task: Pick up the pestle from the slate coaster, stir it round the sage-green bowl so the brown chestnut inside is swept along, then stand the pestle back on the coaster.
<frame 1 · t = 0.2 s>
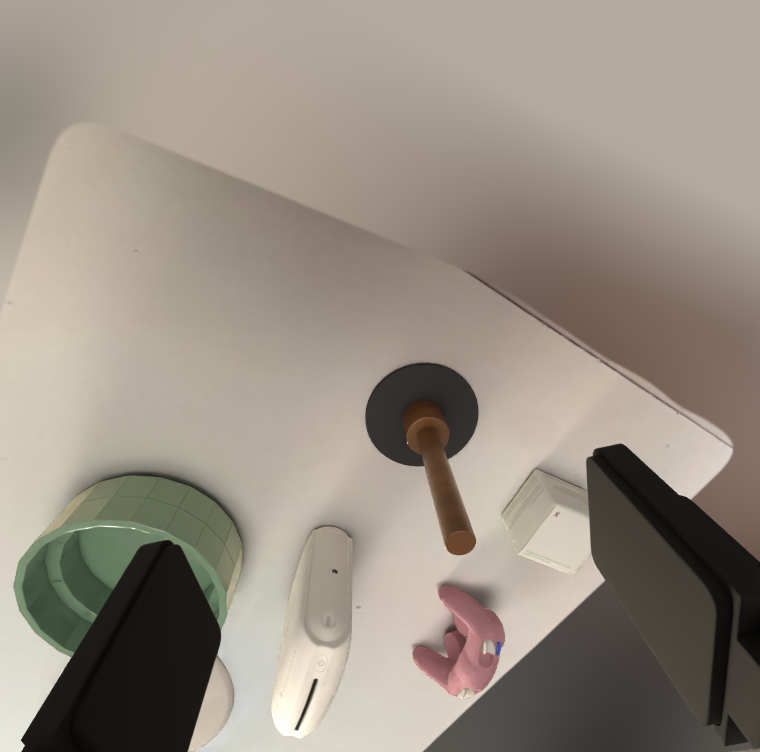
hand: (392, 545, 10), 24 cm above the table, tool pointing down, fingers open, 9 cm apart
photo printer: (319, 566, 42), on the table
ornament: (159, 709, 48), on the table
pestle: (422, 418, 36), resting on coaster
video game controller: (451, 618, 45), on the table
coaster: (421, 415, 37), on the table
bowl: (155, 545, 40), on the table
small box: (541, 501, 41), on the table
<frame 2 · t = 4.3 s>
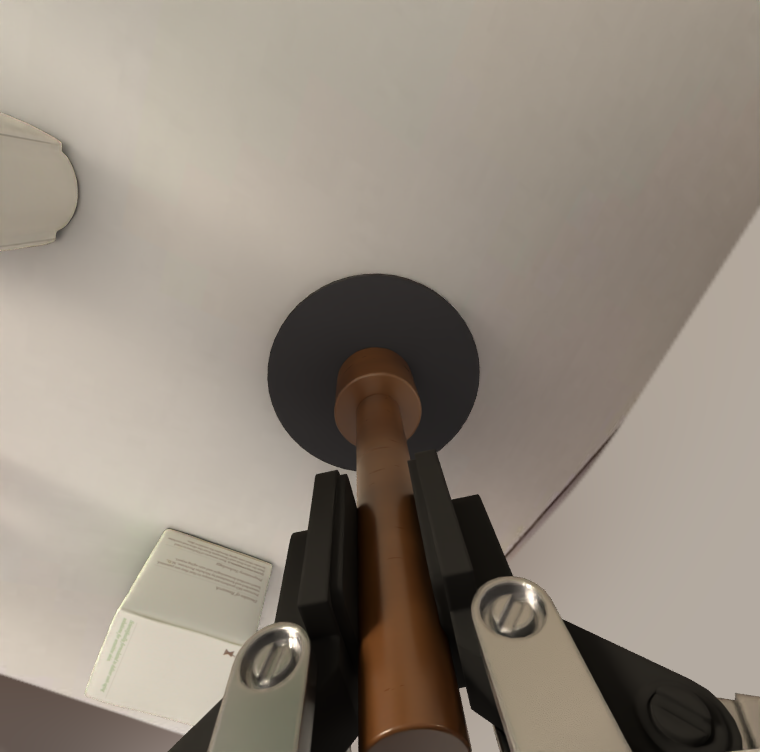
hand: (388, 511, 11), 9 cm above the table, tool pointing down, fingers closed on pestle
pestle: (374, 382, 19), resting on coaster, touching gripper
coaster: (374, 378, 20), on the table
small box: (204, 580, 24), on the table
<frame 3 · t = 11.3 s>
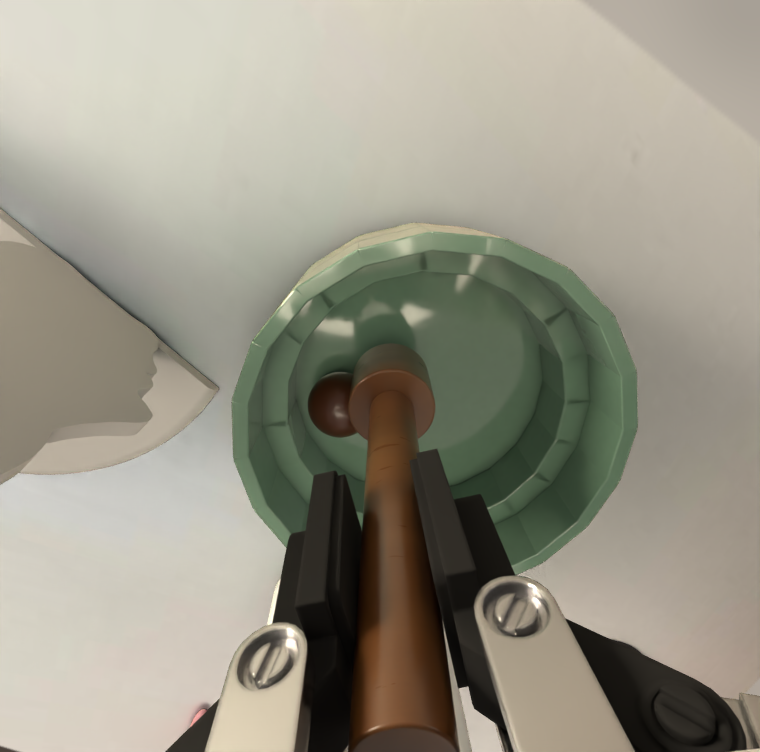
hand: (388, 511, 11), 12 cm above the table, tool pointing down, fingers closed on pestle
photo printer: (359, 596, 28), on the table
pestle: (390, 378, 19), point 3 cm above the table, touching chestnut, gripper
chestnut: (340, 404, 21), point 2 cm above the table, tilted 30°, touching bowl, pestle
bowl: (418, 383, 23), on the table
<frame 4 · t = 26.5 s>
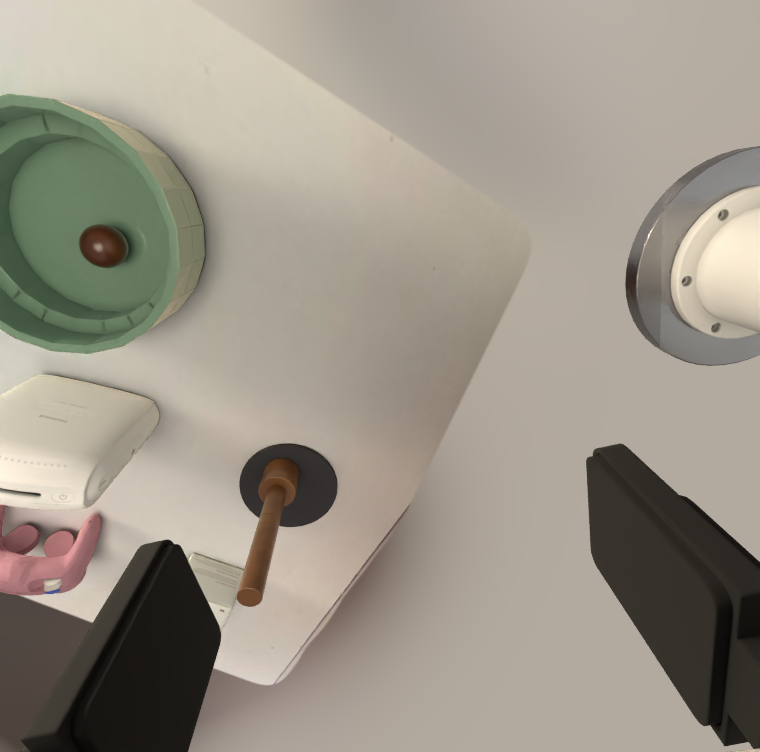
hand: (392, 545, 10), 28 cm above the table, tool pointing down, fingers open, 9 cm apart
photo printer: (100, 403, 39), on the table
pestle: (282, 472, 42), resting on coaster
chestnut: (104, 246, 32), point 2 cm above the table, tilted 85°, touching bowl
video game controller: (52, 525, 43), on the table
coaster: (289, 485, 43), on the table
bowl: (102, 230, 34), on the table
small box: (210, 578, 47), on the table
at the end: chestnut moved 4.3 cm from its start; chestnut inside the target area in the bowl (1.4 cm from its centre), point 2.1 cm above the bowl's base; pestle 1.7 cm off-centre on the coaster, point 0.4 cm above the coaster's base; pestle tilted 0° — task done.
